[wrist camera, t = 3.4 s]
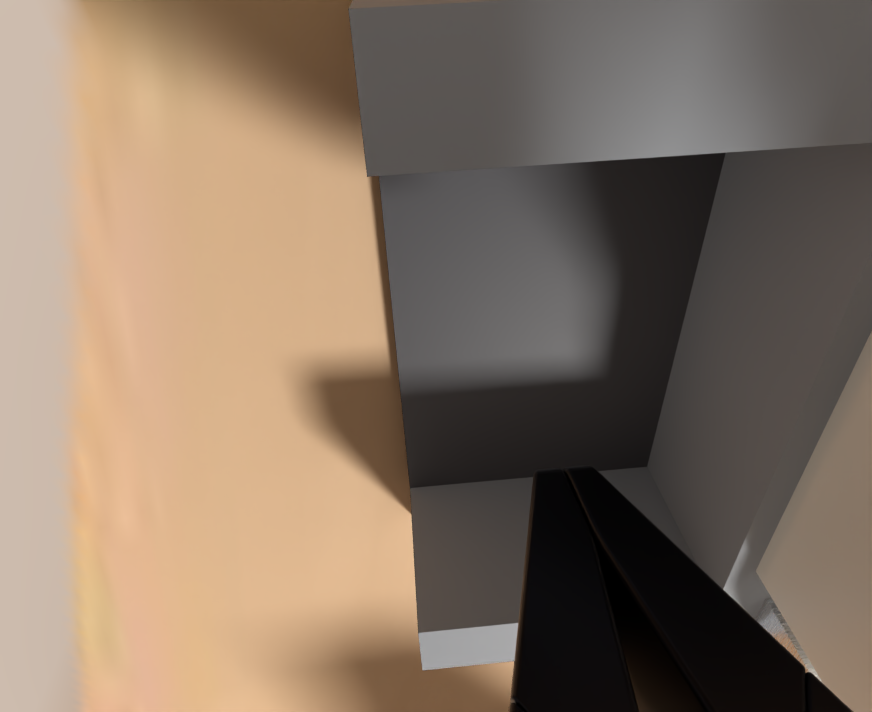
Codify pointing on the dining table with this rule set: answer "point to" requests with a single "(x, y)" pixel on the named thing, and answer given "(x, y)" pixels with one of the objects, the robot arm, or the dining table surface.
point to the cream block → (832, 548)
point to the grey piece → (613, 269)
